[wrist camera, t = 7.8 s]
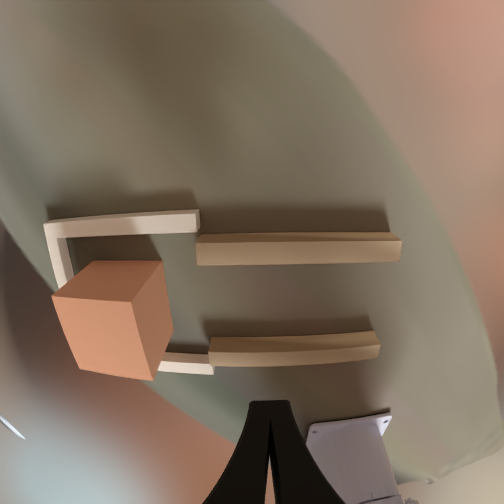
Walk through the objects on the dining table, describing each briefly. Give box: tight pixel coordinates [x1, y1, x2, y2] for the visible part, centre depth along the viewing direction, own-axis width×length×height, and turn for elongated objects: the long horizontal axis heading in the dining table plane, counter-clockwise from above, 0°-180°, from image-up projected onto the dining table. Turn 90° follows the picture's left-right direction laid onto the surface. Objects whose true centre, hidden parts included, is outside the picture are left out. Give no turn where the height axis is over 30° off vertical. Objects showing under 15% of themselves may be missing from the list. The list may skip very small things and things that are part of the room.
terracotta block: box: [52, 261, 174, 381], centre depth 15 cm, size 5×5×5 cm
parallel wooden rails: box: [195, 232, 402, 367], centre depth 16 cm, size 8×11×2 cm
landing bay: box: [44, 209, 215, 374], centre depth 17 cm, size 11×10×1 cm
